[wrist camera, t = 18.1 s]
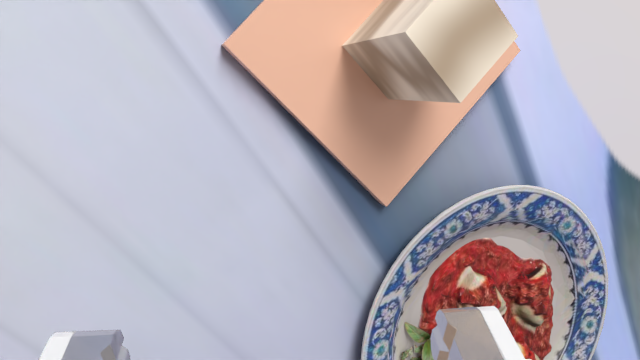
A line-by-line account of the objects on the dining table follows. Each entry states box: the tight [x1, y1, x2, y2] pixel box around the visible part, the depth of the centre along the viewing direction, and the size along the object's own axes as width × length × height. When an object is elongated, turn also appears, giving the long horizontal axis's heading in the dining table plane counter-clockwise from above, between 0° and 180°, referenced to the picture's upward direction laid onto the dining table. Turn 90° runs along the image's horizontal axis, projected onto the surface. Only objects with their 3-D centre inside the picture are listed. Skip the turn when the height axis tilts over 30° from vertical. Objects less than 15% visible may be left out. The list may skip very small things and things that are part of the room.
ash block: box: [342, 0, 518, 103], centre depth 27 cm, size 5×5×8 cm
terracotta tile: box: [222, 0, 520, 207], centre depth 31 cm, size 16×16×1 cm
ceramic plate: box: [361, 185, 608, 360], centre depth 39 cm, size 26×26×3 cm
